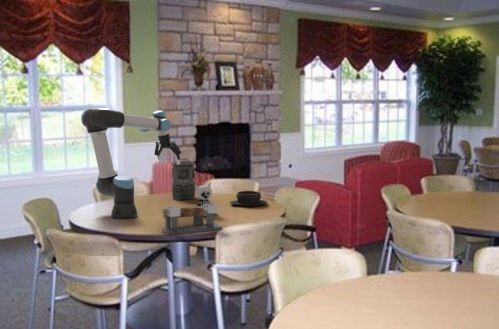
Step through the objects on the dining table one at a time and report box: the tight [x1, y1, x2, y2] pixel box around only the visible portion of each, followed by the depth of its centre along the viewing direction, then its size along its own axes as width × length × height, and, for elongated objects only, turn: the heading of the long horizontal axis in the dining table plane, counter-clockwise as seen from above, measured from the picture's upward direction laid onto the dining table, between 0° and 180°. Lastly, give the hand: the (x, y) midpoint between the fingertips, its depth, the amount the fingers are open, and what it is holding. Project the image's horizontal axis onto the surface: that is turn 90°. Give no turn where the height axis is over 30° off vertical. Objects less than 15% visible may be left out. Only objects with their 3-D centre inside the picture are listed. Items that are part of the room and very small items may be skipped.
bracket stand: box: [161, 202, 223, 236], centre depth 282 cm, size 30×10×13 cm, turn 115°
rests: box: [164, 216, 204, 228], centre depth 294 cm, size 20×5×5 cm, turn 115°
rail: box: [162, 205, 205, 219], centre depth 294 cm, size 22×4×4 cm, turn 115°
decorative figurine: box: [194, 181, 216, 217], centre depth 323 cm, size 15×15×20 cm
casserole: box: [229, 190, 268, 207], centre depth 353 cm, size 25×19×8 cm
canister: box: [171, 158, 196, 201], centre depth 377 cm, size 16×16×28 cm
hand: (170, 164), depth 359 cm, fingers open, 13 cm apart
